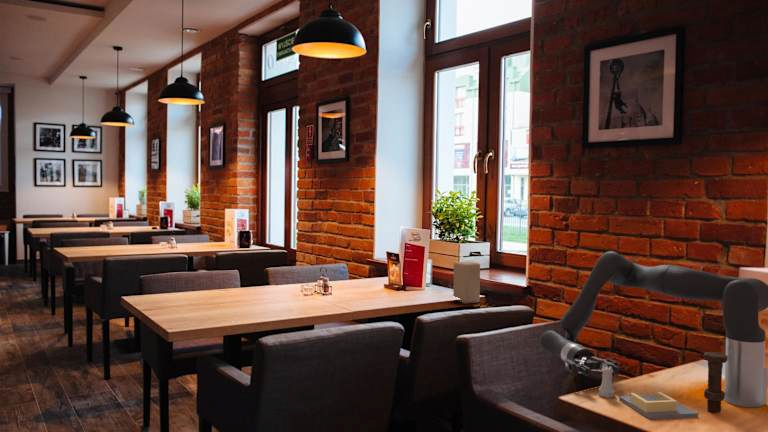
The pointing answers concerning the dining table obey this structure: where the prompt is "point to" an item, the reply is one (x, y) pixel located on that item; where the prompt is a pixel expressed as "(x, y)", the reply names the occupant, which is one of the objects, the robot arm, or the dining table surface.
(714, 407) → the bolt
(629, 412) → the dining table surface
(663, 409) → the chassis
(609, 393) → the rook chess piece
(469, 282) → the block
